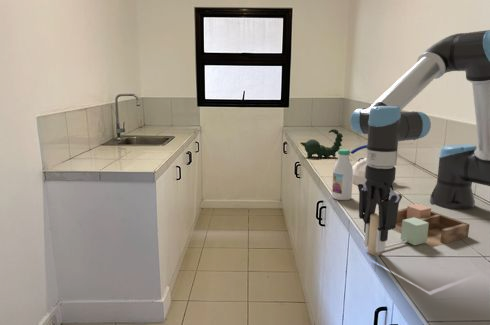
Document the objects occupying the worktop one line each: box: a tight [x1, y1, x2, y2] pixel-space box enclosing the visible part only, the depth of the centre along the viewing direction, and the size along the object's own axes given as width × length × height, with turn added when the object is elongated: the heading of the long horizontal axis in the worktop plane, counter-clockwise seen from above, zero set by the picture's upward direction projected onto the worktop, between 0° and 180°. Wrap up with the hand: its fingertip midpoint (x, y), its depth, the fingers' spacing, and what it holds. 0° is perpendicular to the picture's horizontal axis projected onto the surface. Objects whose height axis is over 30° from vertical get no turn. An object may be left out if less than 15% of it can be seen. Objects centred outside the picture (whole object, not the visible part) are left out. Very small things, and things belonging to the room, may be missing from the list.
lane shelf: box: [391, 207, 471, 248], centre depth 119 cm, size 16×19×5 cm
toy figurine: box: [300, 128, 344, 159], centre depth 232 cm, size 9×19×25 cm
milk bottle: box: [331, 148, 353, 201], centre depth 152 cm, size 8×8×20 cm
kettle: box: [350, 144, 395, 186], centre depth 177 cm, size 20×21×18 cm
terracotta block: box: [406, 203, 432, 219], centre depth 124 cm, size 5×5×6 cm
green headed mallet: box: [367, 212, 429, 256], centre depth 107 cm, size 20×5×11 cm, turn 116°
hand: (374, 247), depth 104 cm, fingers closed on green headed mallet, 3 cm apart
